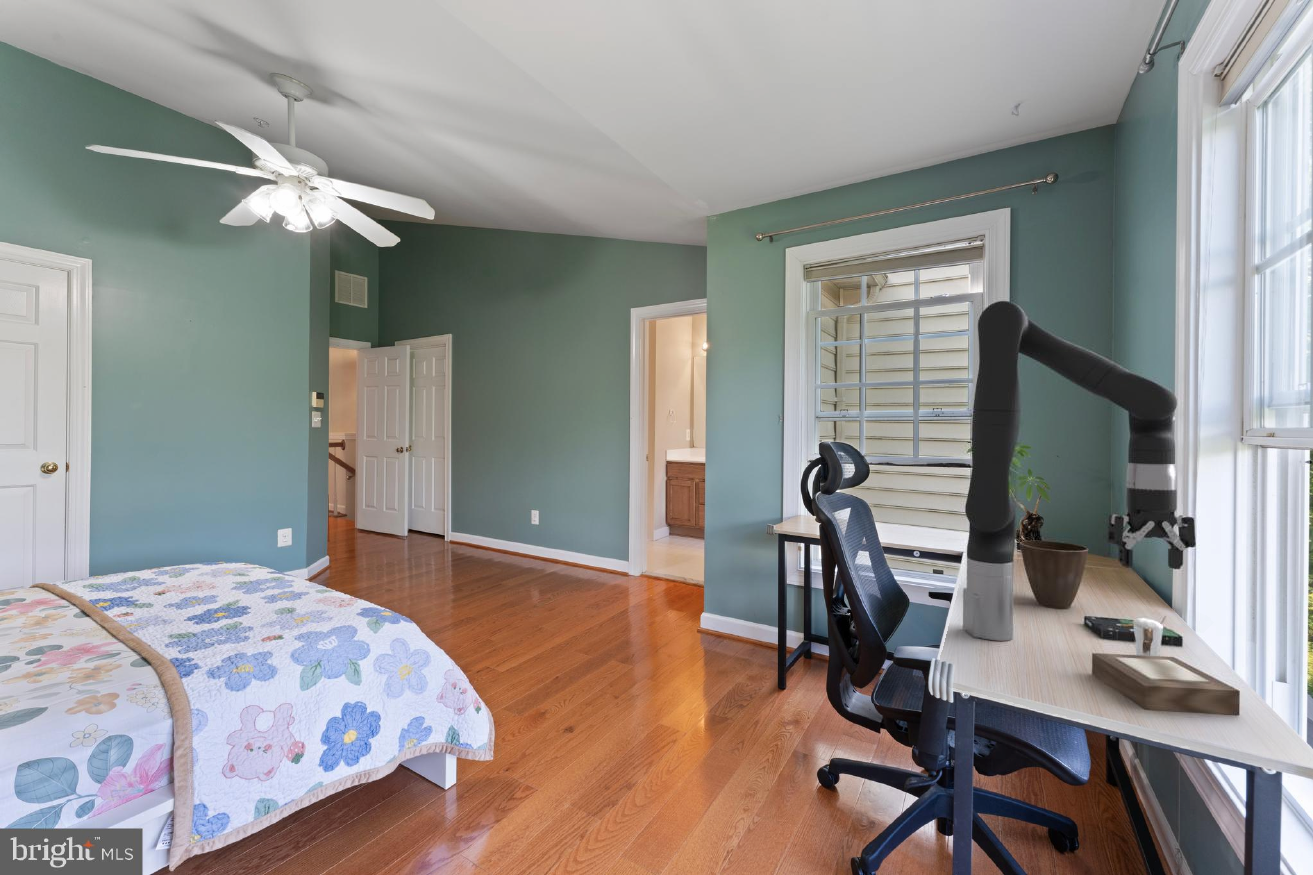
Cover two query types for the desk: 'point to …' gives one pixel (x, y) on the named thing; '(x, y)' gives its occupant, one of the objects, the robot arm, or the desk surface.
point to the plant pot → (1054, 571)
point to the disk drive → (1125, 630)
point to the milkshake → (1148, 636)
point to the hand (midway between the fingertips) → (1150, 567)
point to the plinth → (1165, 684)
